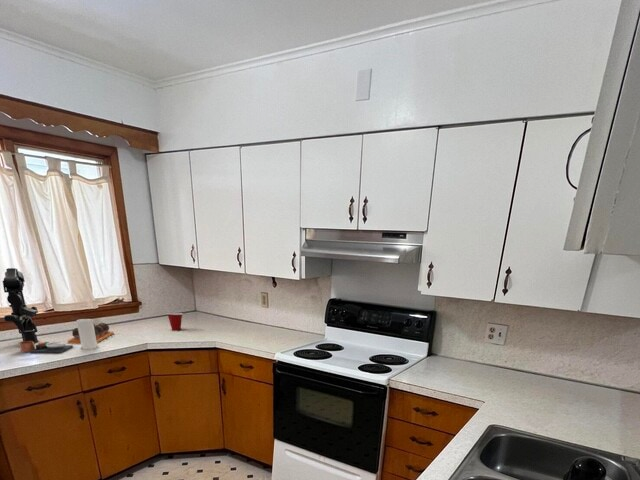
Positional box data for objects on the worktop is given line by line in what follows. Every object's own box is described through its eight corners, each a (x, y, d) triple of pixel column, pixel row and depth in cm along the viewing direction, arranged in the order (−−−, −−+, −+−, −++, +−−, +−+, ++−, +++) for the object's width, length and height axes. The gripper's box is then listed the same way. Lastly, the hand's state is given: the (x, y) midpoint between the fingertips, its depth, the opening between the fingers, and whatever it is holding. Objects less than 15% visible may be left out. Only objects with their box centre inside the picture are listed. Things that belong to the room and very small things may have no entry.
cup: (91, 349, 245) (85, 321, 239) (78, 348, 247) (72, 320, 241) (100, 346, 253) (95, 319, 247) (88, 345, 254) (83, 318, 248)
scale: (30, 353, 234) (28, 348, 233) (44, 347, 247) (43, 342, 246) (60, 353, 235) (59, 348, 234) (73, 347, 248) (72, 342, 247)
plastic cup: (187, 329, 304) (186, 312, 300) (175, 332, 296) (173, 314, 291) (177, 327, 310) (175, 310, 305) (165, 329, 301) (163, 312, 296)
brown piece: (88, 333, 283) (85, 320, 280) (113, 333, 285) (111, 321, 282) (68, 343, 258) (65, 329, 254) (96, 343, 259) (93, 329, 256)
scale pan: (34, 347, 235) (33, 346, 235) (44, 342, 245) (44, 341, 245) (60, 347, 236) (60, 346, 236) (69, 343, 246) (69, 342, 246)
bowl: (18, 352, 235) (16, 343, 233) (25, 349, 242) (23, 340, 240) (31, 352, 236) (29, 343, 234) (38, 349, 242) (35, 341, 240)
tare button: (37, 346, 239) (37, 343, 238) (40, 345, 241) (39, 342, 240) (42, 346, 239) (41, 343, 238) (45, 345, 241) (44, 342, 241)
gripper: (22, 305, 220) (29, 335, 226) (41, 300, 238) (48, 328, 244) (-1, 305, 220) (7, 335, 226) (21, 300, 237) (27, 328, 243)
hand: (23, 331), depth 234 cm, fingers closed
